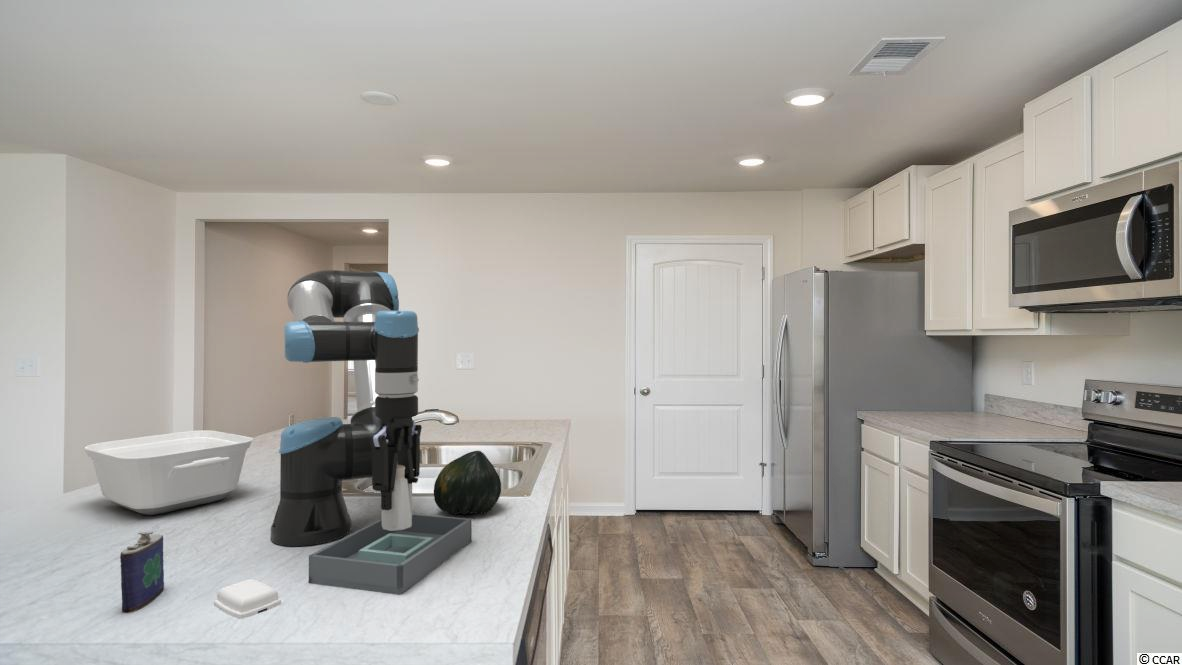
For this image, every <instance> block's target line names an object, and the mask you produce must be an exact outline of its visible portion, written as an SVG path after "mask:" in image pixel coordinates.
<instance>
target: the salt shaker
mask: <svg viewBox="0 0 1182 665" xmlns="http://www.w3.org/2000/svg"><path fill="white" fill-rule="evenodd" d="M404 475H405V466H403V465H397V468H396V477H395V485H394V490H397V527H396V528H390V527H383V529H385V530H389V531H397V530H404V529H407V528H409V527H411V526H412V519H411V510H410V500H409V491H408V482H407V479H406V478H404V477H405V476H404Z"/></svg>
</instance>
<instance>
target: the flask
mask: <svg viewBox="0 0 1182 665" xmlns="http://www.w3.org/2000/svg"><path fill="white" fill-rule="evenodd" d="M137 535H140V537H139V538H138V540H137V543H135V544H134V545H132V546H130V545H129V546H127V547H126V548H125V549H123V550H122V551H121V552H120V555H119V556H120V557H119V558H120V561H119V562H120V580H121V581H120V585H121V586H120V587H121V612H122V614H130V613H133V612H136V611H139V610H141V609H143V608H144V607H145V606H147V605H148V604H150V603H151V602H153V601H155V599H156V598H157V597H158V596H159V595H160V594H162V592H164V588H165V573H164V572H165V571H164V562H165V561H164V535H163V534H160V533H158V534H154V531H150V532H149V531H147V532H146V531H141V532H138V533H137Z"/></svg>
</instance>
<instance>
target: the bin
mask: <svg viewBox="0 0 1182 665" xmlns="http://www.w3.org/2000/svg"><path fill="white" fill-rule="evenodd" d="M472 525H473V523H472V518H466V517H465V518H464V517H453V516H442V515H431V514H421V513H419V514H418V513H412V526H411V527H409V528H407V529H404V530H397V531H389V530H385V529H383V527H382V518H380V519H378V520H376V521H374V522H372V523H370V524H368V525H366V526H364V527H362V528H361V529H359V530H357V531H354V532H353V533H349V535H348V534H347V535H345V537H342V538H340V539H338V540H337V541H335V542H333V543H331V544H329V545H327V546H325V547H323V548H321V549H319V550H318V551H315V552H314V553H311V554H309V555H308V583H309V584H315V585H316V584H317V585H323V586H324V585H326V586H333V587H340V588H341V587H342V588H347V589H354V590H355V589H356V590H361V591H369V592H370V591H371V592H380V593H386V594H395V595H402V594H403V593H405V592H406V591H407V590H409V589H410V588H412V587H413V586H414V585H416V584H417V583H418V582H420V581H421V580H422V579H423V578H424V577H426V576H427V575H429V574H430V573H431V572H433V571H434V570H435V569H436V568H438V567H440V566H441V565H442V564H443V563H445V562H446V561H447V560H450V558H451V557H453V556H454V555H456V554H457V553H458V552H460V551H462V549H463V548H465V547H466V546H467V545H469V544H470V543H471V542H472V539H473V537H472V532H473V530H472V528H473V527H472Z"/></svg>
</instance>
